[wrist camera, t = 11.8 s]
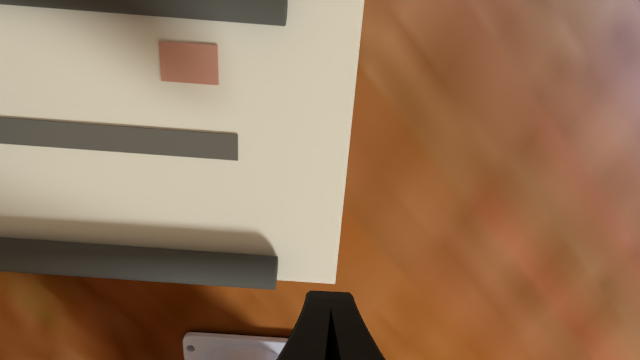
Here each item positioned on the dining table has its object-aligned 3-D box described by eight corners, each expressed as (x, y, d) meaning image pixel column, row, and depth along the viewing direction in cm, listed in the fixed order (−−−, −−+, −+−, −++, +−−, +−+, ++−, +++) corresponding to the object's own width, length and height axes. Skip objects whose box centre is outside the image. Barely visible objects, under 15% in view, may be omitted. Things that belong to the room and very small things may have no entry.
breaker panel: (334, 257, 22) (335, 284, 19) (-118, 226, 21) (-175, 250, 19) (360, -10, 17) (366, -18, 14) (-227, -56, 16) (-323, -72, 14)
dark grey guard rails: (277, 276, 19) (273, 296, 18) (-114, 250, 19) (-152, 268, 18) (288, -18, 14) (284, -25, 13) (-236, -59, 14) (-302, -71, 13)
